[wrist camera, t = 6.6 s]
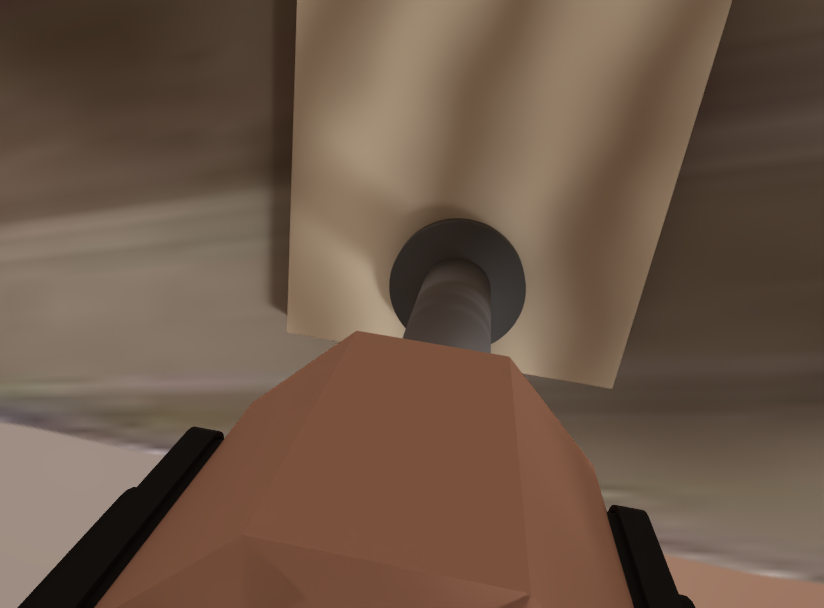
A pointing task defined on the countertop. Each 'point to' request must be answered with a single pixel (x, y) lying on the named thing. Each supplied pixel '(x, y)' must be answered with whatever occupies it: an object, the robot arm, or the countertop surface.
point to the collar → (387, 496)
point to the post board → (490, 169)
